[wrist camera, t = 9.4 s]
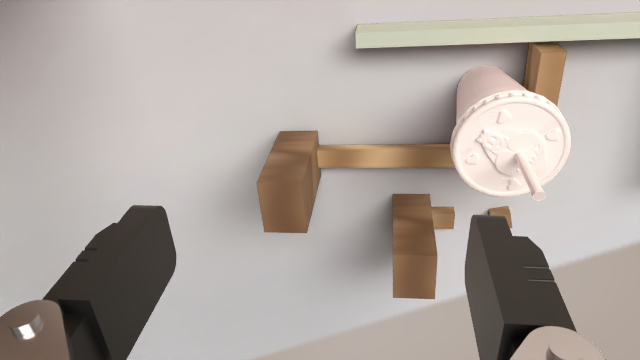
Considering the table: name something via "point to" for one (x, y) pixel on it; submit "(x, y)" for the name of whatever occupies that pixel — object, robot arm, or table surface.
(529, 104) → the smoothie
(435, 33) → the frame
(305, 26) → the table surface
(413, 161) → the wooden mallet
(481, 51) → the table surface
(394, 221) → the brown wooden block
